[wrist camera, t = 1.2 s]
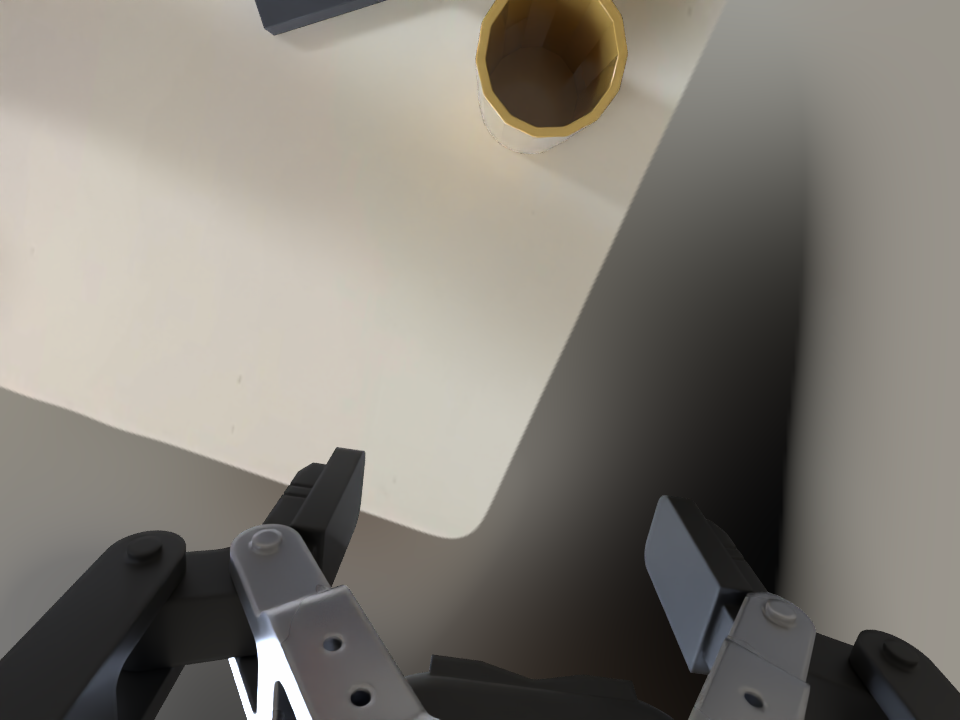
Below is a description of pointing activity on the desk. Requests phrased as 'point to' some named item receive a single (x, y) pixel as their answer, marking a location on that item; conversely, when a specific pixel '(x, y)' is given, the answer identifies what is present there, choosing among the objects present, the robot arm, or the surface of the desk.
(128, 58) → the desk surface
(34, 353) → the desk surface
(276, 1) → the brewer base
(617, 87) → the cup
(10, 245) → the desk surface
